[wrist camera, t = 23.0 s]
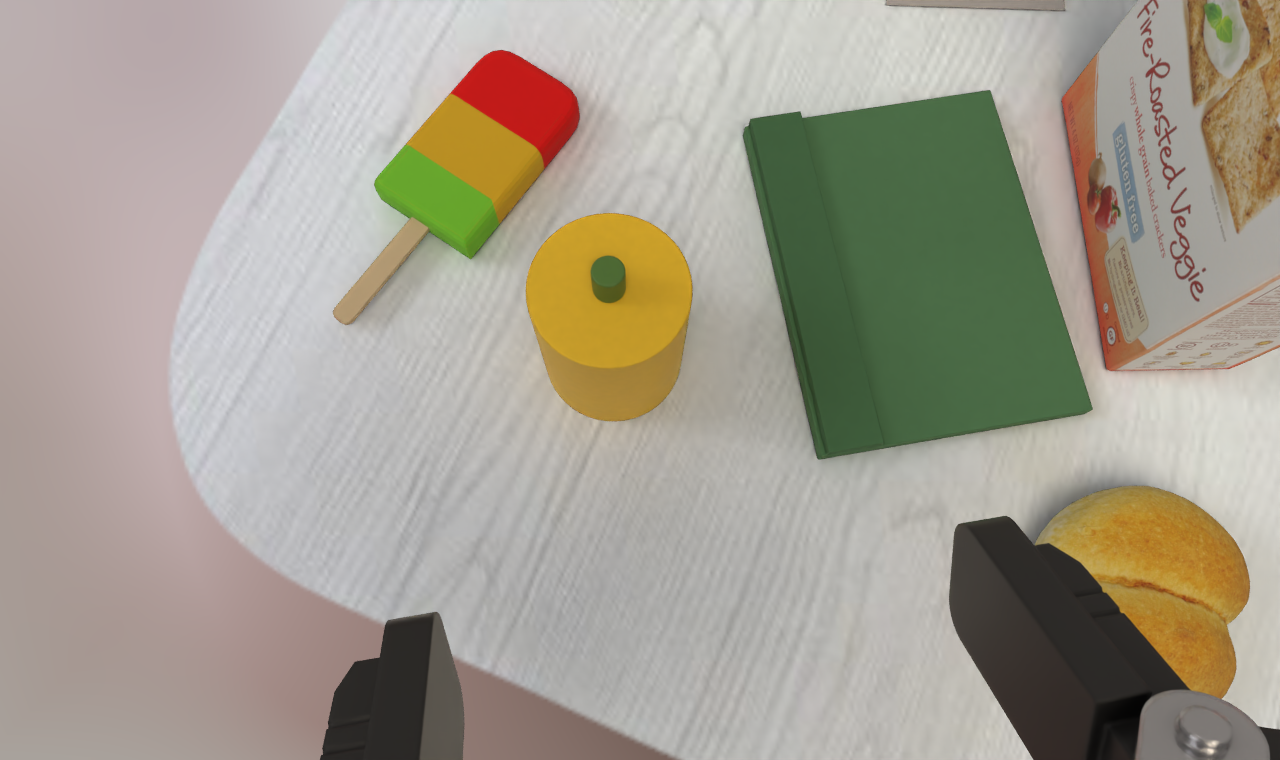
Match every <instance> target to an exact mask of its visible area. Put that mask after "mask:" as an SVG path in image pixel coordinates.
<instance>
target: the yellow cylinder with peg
mask: <svg viewBox="0 0 1280 760" xmlns="http://www.w3.org/2000/svg"><path fill="white" fill-rule="evenodd" d="M526 302H527V307H528V312H529V315H530V318H531V321H532V324H533V327H534V331H535V334H536V337H537V340H538V343H539V346H540V349H541V353H542V356H543V359H544V362H545V365H546V368H547V372H548V375H549V377H550V380H551V383H552V385H553V386H554V388H555V390H556V391H557V393H558V394H559V396H560V397H561V398H562V399H563V400H564V401H565V402H566V403H567V404H568V405H569V406H570V407H572V408H573V409H574V410H576V411H578V412H579V413H581V414H583V415H586V416H588V417H591V418H594V419H597V420H604V421H623V420H629V419H633V418H636V417H639V416H641V415H643V414H645V413H647V412H649V411H651V410H652V409H654V408H655V407H656V406H658V405H659V404H660V403H661V402H662V401H663V400H664V399H665V398H666V397H667V395H668V394H669V393H670V391H671V390H672V388H673V387H674V385H675V382H676V380H677V378H678V375H679V371H680V366H681V361H682V355H683V349H684V343H685V337H686V332H687V326H688V320H689V314H690V308H691V302H692V279H691V274H690V270H689V267H688V264H687V262H686V260H685V257H684V256H683V254H682V252H681V251H680V249H679V248H678V246H677V245H676V244H675V243H674V241H673V240H672V239H671V238H670V237H669V236H668V235H667V234H666V233H664V232H663V231H662V230H660V229H659V228H658V227H656V226H654V225H652V224H651V223H649V222H647V221H644V220H642V219H640V218H637V217H633V216H629V215H624V214H615V213H604V214H595V215H590V216H586V217H583V218H580V219H577V220H575V221H573V222H571V223H568V224H566V225H565V226H563V227H562V228H560V229H559V230H557V231H556V232H555V233H554V234H553V235H551V236H550V237H549V238H548V239H547V240H546V241H545V243H544V244H543V245H542V246H541V248H540V249H539V250H538V252H537V253H536V255H535V257H534V259H533V261H532V263H531V266H530V269H529V272H528V276H527V281H526Z"/></svg>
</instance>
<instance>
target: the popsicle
mask: <svg viewBox="0 0 1280 760" xmlns="http://www.w3.org/2000/svg"><path fill="white" fill-rule="evenodd" d="M578 122H579V107H578V102H577V98H576V96H575V95H574V93H573V92H572V90H570V89H569V88H568V87H567V86H565V85H564V84H563V83H562V82H560V81H558V80H557V79H555V78H554V77H552V76H550V75H549V74H547V73H545V72H544V71H542V70H541V69H539V68H537V67H536V66H534V65H533V64H531V63H529V62H528V61H526V60H524V59H523V58H521V57H520V56H518V55H515V54H513V53H511V52H508V51H503V50H498V51H492V52H490V53H488V54H487V55H485V56H484V57H483V58H482V59H480V60H479V61H478V62H477V63H476V64H475V66H474V67H473V68H472V69H471V70H470V71H469V72H468V74H467V75H466V76H465V77H464V78H463V79H462V80H461V82H460V83H459V84H458V85H457V86H456V87H455V88H454V90H453V91H452V92H451V93H450V94H449V95H448V96H447V98H446V99H445V100H444V101H443V102H442V103H441V105H440V106H439V107H438V108H437V109H436V110H435V111H434V113H433V114H432V115H431V116H430V117H429V118H428V119H427V121H426V122H425V123H424V124H423V125H422V126H421V127H420V129H419V130H418V131H417V132H416V133H415V134H414V135H413V137H412V138H411V139H410V140H409V141H408V142H407V143H406V145H405V146H404V147H403V148H402V149H401V150H400V152H399V153H398V154H397V155H396V156H395V157H394V158H393V160H392V161H391V162H390V163H389V164H388V165H387V166H386V168H385V169H384V170H383V171H382V172H381V173H380V174H379V176H378V177H377V178H376V180H375V183H374V186H375V188H376V191H377V193H378V194H379V196H380V198H381V199H382V200H383V201H384V202H386V203H387V204H389V205H390V206H392V207H393V208H395V209H396V210H398V211H399V212H401V213H402V214H404V215H405V216H407V217H408V218H410V220H409V221H408V222H407V223H406V224H405V225H404V227H403V228H402V229H401V230H400V231H399V233H398V234H397V235H396V236H395V237H394V238H393V240H392V241H391V242H390V243H389V244H388V245H387V247H386V248H385V249H384V250H383V251H382V253H381V254H380V255H379V256H378V257H377V258H376V260H375V261H374V262H373V263H372V264H371V266H370V267H369V268H368V269H367V270H366V271H365V273H364V274H363V275H362V276H361V277H360V279H359V280H358V281H357V282H356V283H355V284H354V286H353V287H352V288H351V289H350V290H349V291H348V293H347V294H346V295H345V296H344V297H343V299H342V300H341V301H340V302H339V303H338V304H337V306H336V307H335V308H334V310H333V315H334V317H335V318H336V319H337V320H338V321H339V322H341V323H342V324H345V325H349V324H351V323H352V322H353V321H355V319H356V318H357V317H358V316H359V315H360V313H361V312H362V311H363V310H364V309H365V307H366V306H367V305H368V304H369V303H370V301H371V300H372V299H373V298H374V297H375V295H376V294H377V293H378V292H379V291H380V290H381V288H382V287H383V286H384V285H385V284H386V282H387V281H388V280H389V279H390V278H391V276H392V275H393V274H394V273H395V272H396V270H397V269H398V268H399V267H400V266H401V264H402V263H403V262H404V261H405V260H406V258H407V257H408V256H409V255H410V254H411V253H412V251H413V250H414V249H415V248H416V247H417V245H418V244H419V243H420V242H421V241H422V239H423V238H424V237H425V236H426V235H427V233H428V232H431V233H432V234H434V235H435V236H437V237H438V238H440V239H441V240H443V241H444V242H446V243H447V244H449V245H450V246H451V247H453V248H454V249H456V250H457V251H459V252H460V253H462V254H463V255H465V256H466V257H468V258H469V259H472V257H473V256H474V255H475V254H476V252H477V251H478V250H479V249H480V247H481V246H482V245H483V244H484V243H485V241H486V240H487V239H488V238H489V236H490V235H491V234H492V233H493V232H494V230H495V229H496V228H497V227H498V225H499V224H500V223H501V222H502V221H503V219H504V218H505V217H506V216H507V214H508V213H509V212H510V211H511V209H512V208H513V207H514V206H515V205H516V203H517V202H518V201H519V200H520V198H521V197H522V196H523V195H524V194H525V192H526V191H527V190H528V189H529V187H530V186H531V185H532V184H533V183H534V181H535V180H536V179H537V178H538V176H539V175H540V174H541V173H542V171H543V170H544V169H545V168H546V167H547V165H548V164H549V163H550V162H551V160H552V159H553V158H554V157H555V156H556V154H557V153H558V152H559V151H560V149H561V148H562V147H563V146H564V144H565V143H566V142H567V141H568V140H569V138H570V137H571V136H572V134H573V133H574V131H575V130H576V128H577V126H578Z"/></svg>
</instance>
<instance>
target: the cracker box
mask: <svg viewBox="0 0 1280 760" xmlns="http://www.w3.org/2000/svg"><path fill="white" fill-rule="evenodd" d="M1061 102H1062V104H1063V109H1064V115H1065V121H1066V125H1067V132H1068V138H1069V145H1070V151H1071V157H1072V163H1073V167H1074V174H1075V180H1076V186H1077V192H1078V198H1079V204H1080V210H1081V216H1082V223H1083V228H1084V235H1085V240H1086V247H1087V252H1088V259H1089V265H1090V271H1091V277H1092V283H1093V289H1094V296H1095V302H1096V308H1097V314H1098V319H1099V327H1100V333H1101V339H1102V345H1103V352H1104V356H1105V363H1106V368H1107V370H1109V371H1135V370H1186V369H1230V368H1233V367H1235V366H1238V365H1240V364H1242V363H1245V362H1247V361H1249V360H1252V359H1254V358H1256V357H1259V356H1261V355H1263V354H1265V353H1267V352H1269V351H1272V350H1274V349H1276V348H1279V347H1280V0H1138V1H1137V3H1136V4H1135V5H1134V6H1133V8H1132V9H1131V10H1130V11H1129V13H1128V14H1127V15H1126V17H1125V18H1124V20H1123V21H1122V22H1121V23H1120V24H1119V25H1118V27H1117V28H1116V29H1115V30H1114V32H1113V33H1112V34H1111V36H1110V37H1109V38H1108V39H1107V41H1106V42H1105V43H1104V45H1103V46H1102V47H1101V49H1100V50H1099V51H1098V53H1097V54H1096V55H1095V56H1094V58H1093V59H1092V60H1091V61H1090V63H1089V64H1088V65H1087V66H1086V68H1085V69H1084V70H1083V72H1082V73H1081V74H1080V76H1079V77H1078V78H1077V80H1076V81H1075V82H1074V84H1073V85H1072V86H1071V87H1070V89H1069V90H1068V91H1067V92H1066V94H1065V95H1064V96H1063V98H1062V101H1061Z"/></svg>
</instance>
